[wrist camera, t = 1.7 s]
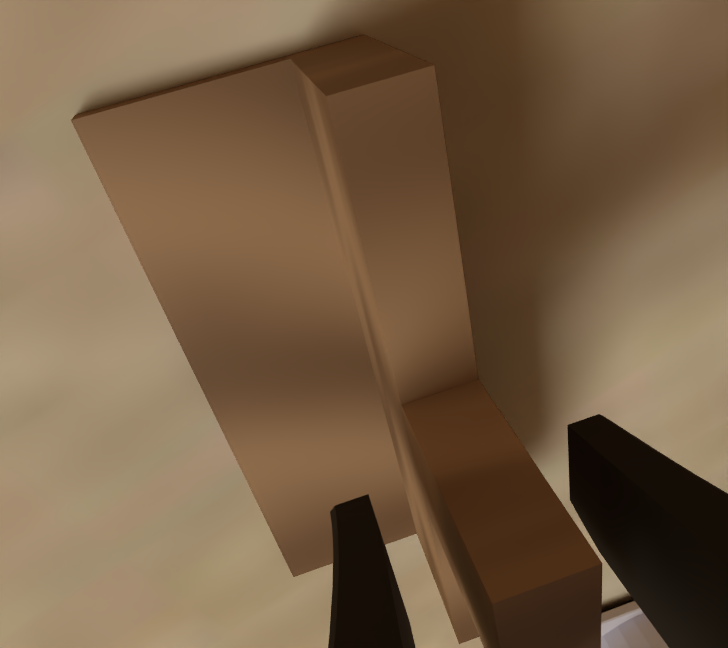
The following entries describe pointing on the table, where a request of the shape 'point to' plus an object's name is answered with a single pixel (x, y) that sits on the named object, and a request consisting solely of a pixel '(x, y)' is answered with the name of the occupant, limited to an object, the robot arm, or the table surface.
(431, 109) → the walnut scraper
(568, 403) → the table surface
